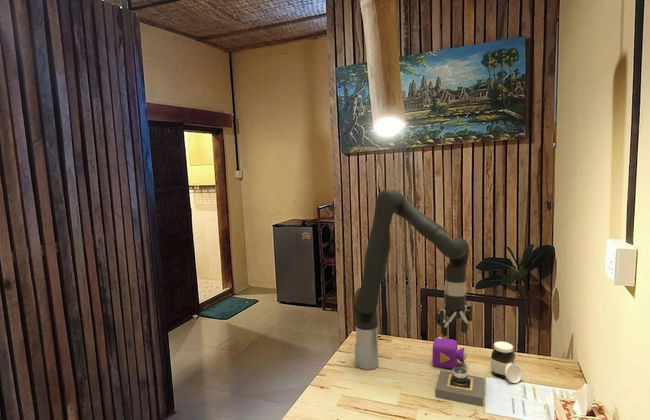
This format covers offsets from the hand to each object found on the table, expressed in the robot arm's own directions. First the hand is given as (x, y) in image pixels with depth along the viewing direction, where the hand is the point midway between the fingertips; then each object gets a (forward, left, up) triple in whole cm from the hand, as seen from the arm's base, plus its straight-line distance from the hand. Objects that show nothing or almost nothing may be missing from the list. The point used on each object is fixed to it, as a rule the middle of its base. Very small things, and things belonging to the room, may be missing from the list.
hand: (454, 334), depth 148 cm
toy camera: (-3, +16, -21) cm, 26 cm away
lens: (+2, -3, -20) cm, 21 cm away
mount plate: (+3, -3, -20) cm, 21 cm away
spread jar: (+19, +14, -21) cm, 31 cm away
